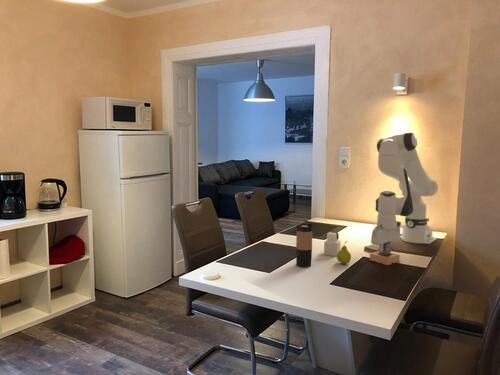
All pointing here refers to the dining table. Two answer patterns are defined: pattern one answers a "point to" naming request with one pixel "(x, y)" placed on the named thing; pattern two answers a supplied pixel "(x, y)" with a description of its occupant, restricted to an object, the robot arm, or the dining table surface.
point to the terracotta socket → (384, 258)
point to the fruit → (343, 255)
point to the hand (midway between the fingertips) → (384, 250)
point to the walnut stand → (371, 248)
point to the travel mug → (304, 245)
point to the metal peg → (386, 249)
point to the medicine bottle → (332, 244)
